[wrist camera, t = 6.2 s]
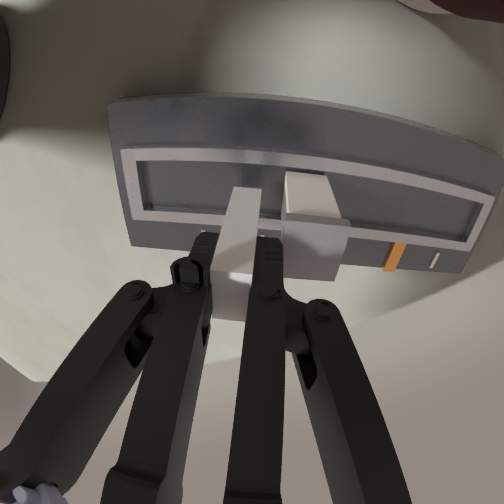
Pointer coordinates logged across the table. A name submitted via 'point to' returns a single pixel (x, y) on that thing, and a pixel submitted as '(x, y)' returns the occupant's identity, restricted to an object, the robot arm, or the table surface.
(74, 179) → the table surface
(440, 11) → the coffee cup
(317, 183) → the fader knob
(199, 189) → the console
